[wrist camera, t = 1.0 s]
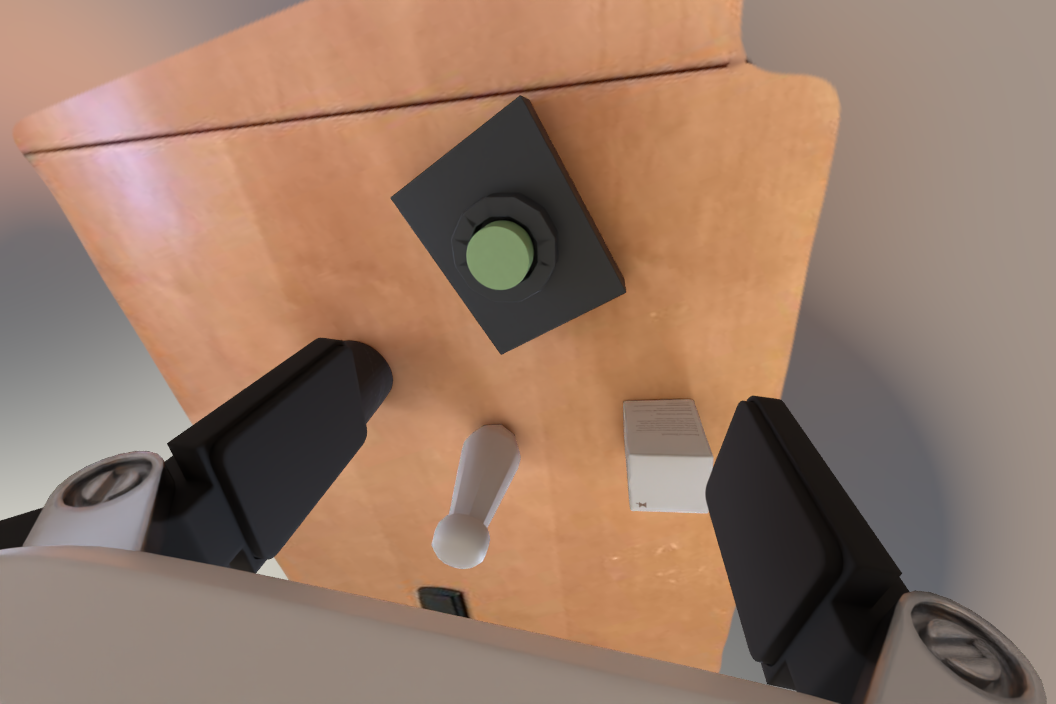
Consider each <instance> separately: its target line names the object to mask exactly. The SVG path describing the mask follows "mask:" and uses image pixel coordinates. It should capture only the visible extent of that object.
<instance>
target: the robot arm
mask: <svg viewBox="0 0 1056 704" xmlns="http://www.w3.org/2000/svg"><path fill="white" fill-rule="evenodd" d="M366 436H367V427H366V422H365V416H364V411H363V405H362V400H361V394H360V389H359V383H358V378H357V372H356V367H355V362H354V356H353V352H352V350H351V348H349V347H347V345H346V343H345V342H344V341H342V340H334V339H327V338H318V339H315V340H314V341H313V342H311V343H310V344H308V345H307V346H305V347H304V348H303V349H301V350H300V351H298V352H297V353H295V354H294V355H293V356H291V357H290V358H288V359H287V360H285V361H284V362H283V363H281V364H280V365H278V366H277V367H275V368H274V369H273V370H271V371H270V372H268V373H267V374H265V375H264V376H263V377H261V378H260V379H258V380H257V381H255V382H254V383H253V384H251V385H250V386H248V387H247V388H245V389H244V390H243V391H241V392H240V393H238V394H237V395H235V396H234V397H233V398H231V399H230V400H228V401H227V402H225V403H224V404H223V405H221V406H220V407H218V408H217V409H215V410H214V411H213V412H211V413H210V414H208V415H207V416H205V417H204V418H203V419H201V420H200V421H198V422H197V423H195V424H194V425H193V426H191V427H190V428H188V429H187V430H186V431H184V432H183V433H181V434H180V435H178V436H177V437H175V438H174V439H173V440H171V441H170V442H168V443H167V444H168V446H169V448H170V450H171V452H172V454H173V456H172V457H170V458H169V459H168V460H166V461H165V462H164V460H163V458H161V457H160V456H159V455H158V454H157V453H153V452H149V451H134V452H129V453H123V454H118V455H115V456H112V457H108V458H105V459H102V460H100V461H98V462H95V463H93V464H91V465H89V466H86V467H85V468H83V469H81V470H79V471H78V472H76V473H74V474H73V475H71V476H70V477H68V478H67V479H66V480H65V481H63V482H62V483H61V484H60V485H58V486H57V488H56V489H55V490H54V491H53V493H52V494H51V495H50V496H49V498H48V500H47V502H46V504H45V506H44V507H43V508H40V509H37V510H33V511H30V512H27V513H24V514H21V515H17V516H14V517H11V518H8V519H4V520H1V521H0V704H1046V695H1045V691H1044V687H1043V683H1042V681H1041V679H1040V677H1039V676H1038V674H1037V672H1036V671H1035V669H1034V667H1033V666H1032V664H1031V663H1030V661H1029V660H1028V659H1027V658H1026V657H1025V656H1024V655H1023V653H1022V652H1021V651H1020V650H1019V649H1018V648H1017V647H1016V645H1015V644H1014V643H1013V642H1012V641H1011V640H1009V639H1008V638H1007V637H1006V636H1005V635H1004V634H1003V633H1001V632H1000V631H999V630H998V629H997V628H996V627H995V626H993V625H992V624H991V623H989V622H988V621H986V620H985V619H983V618H982V617H981V616H979V615H978V614H976V613H975V612H973V611H972V610H970V609H968V608H966V607H964V606H962V605H960V604H959V603H957V602H955V601H953V600H951V599H948V598H946V597H943V596H940V595H937V594H934V593H931V592H922V591H912V592H909V590H908V589H907V588H906V586H905V585H904V583H903V582H902V580H901V579H900V577H899V576H900V575H901V574H902V572H901V571H900V570H899V568H898V567H897V565H896V564H895V562H894V561H893V560H892V558H891V557H890V555H889V554H888V553H887V551H886V549H885V548H884V547H883V545H882V544H881V542H880V541H879V539H878V538H877V536H876V535H875V533H874V532H873V531H872V529H871V528H870V526H869V525H868V524H867V522H866V520H865V519H864V518H863V516H862V515H861V513H860V512H859V510H858V509H857V508H856V506H855V505H854V503H853V502H852V500H851V499H850V498H849V496H848V495H847V493H846V492H845V490H844V489H843V487H842V486H841V484H840V483H839V481H838V480H837V479H836V477H835V476H834V474H833V473H832V471H831V470H830V468H829V467H828V466H827V464H826V463H825V461H824V460H823V458H822V457H821V455H820V454H819V453H818V451H817V450H816V448H815V447H814V446H813V444H812V443H811V441H810V440H809V438H808V437H807V435H806V434H805V432H804V431H803V430H802V428H801V427H800V425H799V424H798V422H797V421H796V420H795V418H794V417H793V415H792V414H791V412H790V411H789V409H788V408H787V407H786V405H785V403H784V402H783V401H782V400H780V399H774V398H766V397H759V396H751V397H749V398H748V399H747V401H741V402H740V403H739V404H738V406H737V408H736V411H735V413H734V416H733V418H732V421H731V423H730V426H729V429H728V431H727V434H726V436H725V439H724V441H723V444H722V446H721V449H720V451H719V454H718V457H717V459H716V462H715V464H714V467H713V469H712V472H711V474H710V477H709V480H708V482H707V485H706V490H705V498H706V503H707V506H708V510H709V513H710V517H711V520H712V523H713V527H714V530H715V534H716V537H717V541H718V544H719V548H720V551H721V555H722V558H723V562H724V565H725V569H726V572H727V575H728V579H729V582H730V586H731V589H732V593H733V596H734V600H735V603H736V607H737V610H738V613H739V617H740V620H741V624H742V627H743V631H744V634H745V638H746V641H747V645H748V648H749V651H750V654H751V656H752V657H753V659H754V660H755V661H757V662H761V665H762V668H763V671H764V675H765V678H766V682H767V684H769V685H765V684H761V683H757V682H753V681H748V680H744V679H740V678H736V677H732V676H727V675H723V674H719V673H715V672H711V671H706V670H702V669H698V668H694V667H689V666H685V665H680V664H675V663H671V662H666V661H662V660H657V659H653V658H648V657H643V656H639V655H634V654H630V653H625V652H621V651H616V650H612V649H607V648H602V647H598V646H593V645H589V644H584V643H580V642H575V641H571V640H566V639H561V638H557V637H552V636H548V635H543V634H539V633H534V632H529V631H525V630H520V629H516V628H511V627H506V626H502V625H497V624H492V623H488V622H483V621H478V620H474V619H469V618H464V617H460V616H455V615H450V614H446V613H441V612H436V611H432V610H427V609H422V608H417V607H413V606H408V605H403V604H399V603H394V602H389V601H385V600H380V599H375V598H370V597H366V596H361V595H356V594H352V593H347V592H342V591H337V590H332V589H327V588H323V587H318V586H313V585H308V584H303V583H299V582H294V581H289V580H284V579H279V578H275V577H270V576H265V575H260V574H256V573H257V571H258V570H259V569H260V568H261V566H262V565H263V564H264V563H265V561H266V560H267V559H271V558H273V557H274V556H276V555H277V553H278V552H279V551H280V550H281V549H282V547H283V546H284V545H285V543H286V542H287V541H288V540H289V538H290V537H291V536H292V535H293V533H294V532H295V531H296V529H297V528H298V527H299V526H300V524H301V523H302V522H303V520H304V519H305V518H306V517H307V515H308V514H309V513H310V512H311V510H312V509H313V508H314V506H315V505H316V504H317V503H318V501H319V500H320V499H321V497H322V496H323V495H324V494H325V492H326V491H327V490H328V489H329V487H330V486H331V485H332V483H333V482H334V481H335V480H336V478H337V477H338V476H339V474H340V473H341V472H342V471H343V469H344V468H345V467H346V465H347V464H348V463H349V462H350V460H351V459H352V458H353V457H354V455H355V454H356V453H357V451H358V450H359V449H360V448H361V446H362V445H363V443H364V442H365V439H366ZM228 564H229V565H230V567H231V568H226V567H227V565H228ZM770 685H773V686H778V687H783V688H787V689H792V690H796V691H797V692H795V691H791V690H786V689H782V688H777V687H773V686H770Z"/></svg>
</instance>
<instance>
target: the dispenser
mask: <svg viewBox="0 0 1056 704" xmlns="http://www.w3.org/2000/svg"><path fill="white" fill-rule="evenodd" d="M391 200H392V201H393V202H394V204H395V205H396V207H397V208H398V209H399V211H400V212H401V214H402V215H403V217H404V218H405V219H406V221H407V222H408V224H409V225H410V227H411V228H412V229H413V231H414V232H415V234H416V235H417V236H418V238H419V239H420V241H421V242H422V244H423V245H424V246H425V248H426V249H427V251H428V252H429V253H430V255H431V256H432V258H433V259H434V261H435V262H436V263H437V265H438V266H439V268H440V269H441V270H442V272H443V273H444V275H445V276H446V278H447V279H448V280H449V282H450V283H451V285H452V286H453V288H454V289H455V290H456V292H457V293H458V295H459V296H460V297H461V299H462V300H463V302H464V303H465V305H466V306H467V307H468V309H469V310H470V312H471V313H472V314H473V316H474V317H475V319H476V320H477V322H478V323H479V324H480V326H481V327H482V329H483V330H484V332H485V333H486V334H487V336H488V337H489V339H490V340H491V341H492V343H493V344H494V346H495V347H496V349H497V350H498V351H499V353H500V354H501V355H502V354H504V353H506V352H508V351H510V350H512V349H514V348H516V347H518V346H520V345H522V344H524V343H526V342H528V341H530V340H532V339H534V338H536V337H538V336H540V335H542V334H544V333H546V332H548V331H550V330H552V329H554V328H556V327H558V326H560V325H562V324H564V323H566V322H568V321H570V320H572V319H574V318H576V317H578V316H580V315H582V314H584V313H586V312H588V311H590V310H592V309H594V308H596V307H598V306H600V305H602V304H604V303H606V302H608V301H610V300H612V299H614V298H616V297H618V296H620V295H622V294H624V293H626V287H625V281H624V278H623V276H622V274H621V272H620V270H619V268H618V266H617V265H616V263H615V261H614V259H613V257H612V255H611V253H610V251H609V250H608V248H607V246H606V244H605V242H604V240H603V238H602V236H601V234H600V233H599V231H598V229H597V227H596V225H595V223H594V221H593V219H592V217H591V216H590V214H589V212H588V210H587V208H586V206H585V204H584V202H583V200H582V199H581V197H580V195H579V193H578V191H577V189H576V187H575V185H574V184H573V182H572V180H571V178H570V176H569V174H568V172H567V170H566V168H565V167H564V165H563V163H562V161H561V159H560V157H559V155H558V153H557V151H556V150H555V148H554V146H553V144H552V142H551V140H550V138H549V136H548V134H547V133H546V131H545V129H544V127H543V125H542V123H541V121H540V119H539V118H538V116H537V114H536V112H535V110H534V108H533V106H532V104H531V102H530V101H529V100H528V99H527V98H525V97H523V96H521V95H520V96H519V97H517V98H516V99H515V100H514V101H512V102H511V103H510V104H509V105H507V106H506V107H505V108H504V109H502V110H501V111H500V112H498V113H497V114H496V115H495V116H493V117H492V118H491V119H490V120H488V121H487V122H486V123H485V124H483V125H482V126H481V127H479V128H478V129H477V130H476V131H474V132H473V133H472V134H471V135H469V136H468V137H467V138H466V139H464V140H463V141H462V142H460V143H459V144H458V145H457V146H455V147H454V148H453V149H452V150H450V151H449V152H448V153H446V154H445V155H444V156H443V157H441V158H440V159H439V160H438V161H436V162H435V163H434V164H433V165H431V166H430V167H429V168H427V169H426V170H425V171H424V172H422V173H421V174H420V175H419V176H417V177H416V178H415V179H414V180H412V181H411V182H410V183H408V184H407V185H406V186H405V187H403V188H402V189H401V190H400V191H398V192H397V193H396V194H394V195H393V196H392V197H391ZM498 220H507V221H511V222H514V223H516V224H518V225H519V226H521V227H522V228H523V229H524V230H525V231H526V232H527V233H528V235H529V236H530V238H531V240H532V243H533V247H534V258H533V262H532V264H531V266H530V268H529V270H528V272H527V274H526V275H525V277H524V279H523V280H522V281H521V282H520V283H519V284H517V285H516V286H514V287H512V288H509V289H505V290H495V289H491V288H488V287H486V286H484V285H483V284H481V283H480V282H479V281H477V280H476V279H475V277H474V276H473V275H472V273H471V271H470V269H469V267H468V264H467V257H466V253H467V247H468V244H469V242H470V240H471V238H472V237H473V236H474V235H475V234H476V233H477V232H478V231H479V230H481V229H482V228H484V227H485V226H486V225H488V224H489V223H491V222H494V221H498Z"/></svg>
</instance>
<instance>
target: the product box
mask: <svg viewBox="0 0 1056 704" xmlns="http://www.w3.org/2000/svg"><path fill="white" fill-rule="evenodd" d="M623 420H624V443H625V456H626V467H627V479H628V492H629V504H630V509H631V510H632V511H657V512H684V513H708V511H709V510H708V506H707V503H706V498H705V490H706V485H707V482H708V480H709V477H710V474H711V472H712V469H713V455H712V452H711V449H710V446H709V443H708V441H707V438H706V435H705V432H704V429H703V426H702V423H701V420H700V417H699V415H698V411H697V408H696V405H695V402H694V400H691V399H675V400H641V401H624V402H623Z"/></svg>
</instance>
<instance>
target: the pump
mask: <svg viewBox="0 0 1056 704" xmlns="http://www.w3.org/2000/svg"><path fill="white" fill-rule="evenodd" d="M466 257H467V264H468V267H469V269H470V271H471V273H472V275H473V276H474V277H475V279H476V280H477V281H479V282H480V283H481V284H483V285H484V286H486V287H488V288H491V289H495V290H505V289H509V288H512V287H514V286H516V285H517V284H519V283H520V282H521V281H522V280H523V279H524V277H525V275H526V274H527V272H528V270H529V268H530V266H531V264H532V262H533V258H534V247H533V243H532V240H531V238H530V236H529V235H528V233H527V232H526V231H525V230H524V229H523V228H522V227H521V226H519V225H518V224H516V223H514V222H511V221H507V220H498V221H494V222H491V223H489V224H488V225H486V226H485V227H484V228H482V229H481V230H479V231H478V232H477V233H476V234H475V235H474V236H473V237H472V238H471V240H470V242H469V244H468V247H467V253H466Z"/></svg>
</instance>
